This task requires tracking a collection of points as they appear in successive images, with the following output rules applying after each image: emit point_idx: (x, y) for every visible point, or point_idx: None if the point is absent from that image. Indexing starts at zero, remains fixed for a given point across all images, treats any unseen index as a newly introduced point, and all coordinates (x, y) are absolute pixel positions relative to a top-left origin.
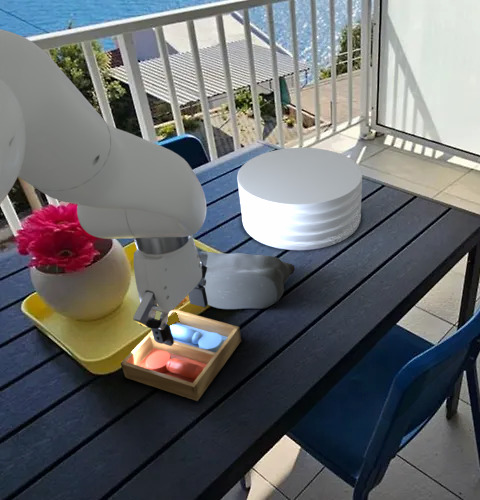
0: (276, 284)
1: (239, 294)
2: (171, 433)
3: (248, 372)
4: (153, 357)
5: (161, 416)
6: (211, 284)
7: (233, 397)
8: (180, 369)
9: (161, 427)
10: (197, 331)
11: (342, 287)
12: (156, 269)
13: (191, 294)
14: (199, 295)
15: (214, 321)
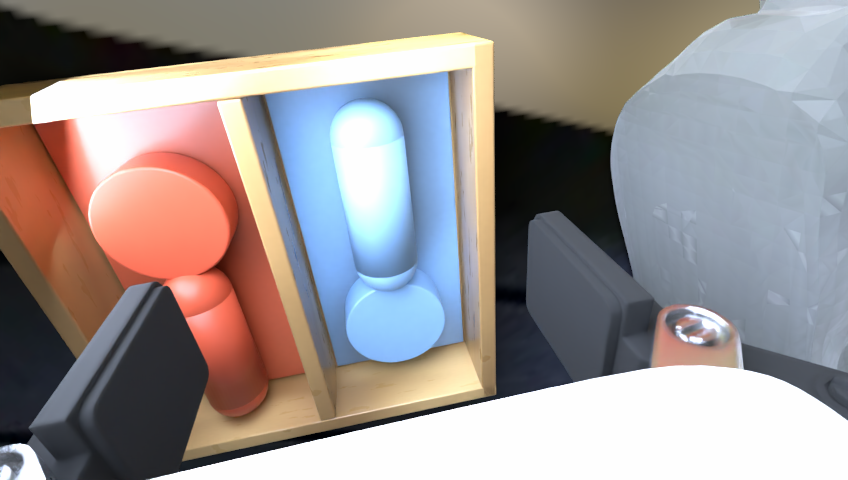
0: None
1: (682, 287)
2: (27, 419)
3: (367, 425)
4: (150, 199)
5: (36, 358)
6: (727, 194)
7: (266, 449)
8: None
9: (10, 386)
10: (405, 276)
11: None
12: None
13: (568, 288)
14: (568, 348)
15: (487, 308)
